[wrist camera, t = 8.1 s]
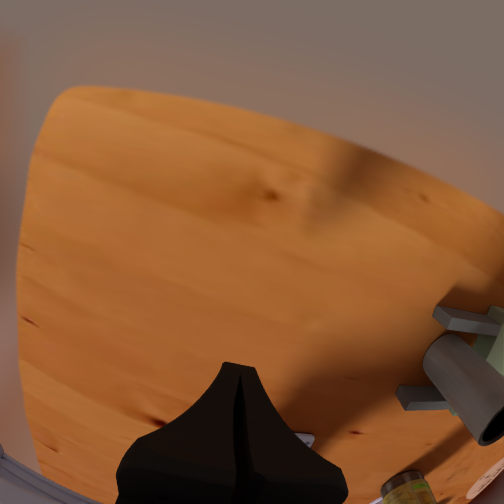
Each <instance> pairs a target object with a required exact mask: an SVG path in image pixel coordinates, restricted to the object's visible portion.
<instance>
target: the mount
mask: <svg viewBox="0 0 504 504" xmlns="http://www.w3.org/2000/svg"><path fill="white" fill-rule="evenodd" d="M432 317H434V318H435V319H436V320H437V321H438V322H439V323H440V324H442V325H443V326H444V327H445V328H446V329H448V330H455V331H462V332H470V333H477V334H478V337H477V339H476V341H475V343H474V345H473V347H472V348H473V349H474V350H475V351H476V352H477V353H479V354H480V355H481V356H482V357H483V358H484V359H485V360H486V361H487V362H488V363H490V364H491V365H492V366H493V367H494V368H495V369H496V370H497V371H498V372H499V373H500V374H501V375H502V376H503V377H504V308H501V307H497V306H492V305H491V306H490V308H489V311H488V313H487V315H484V314H479V313H474V312H469V311H464V310H459V309H454V308H448V307H443V306H438V305H436V308H435V310H434V313H433V315H432ZM395 395H396V396H397V398H398V400H399V401H400V403H401V405H402V407H403V408H404V410H405V411H412V410H441V409H449V411H450V412H451V413H452V415H453V416H458V415H457V414H456V412H455V411H454V410H453V408H452V407H451V406H450V404H449V403H448V402H447V401H446V399H445V398H444V397H443V395H442V394H441V393H440V391H439V390H438V389H437V388H436V386H404V385H400V386H399V387H398V389H397V391H396V393H395Z"/></svg>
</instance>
